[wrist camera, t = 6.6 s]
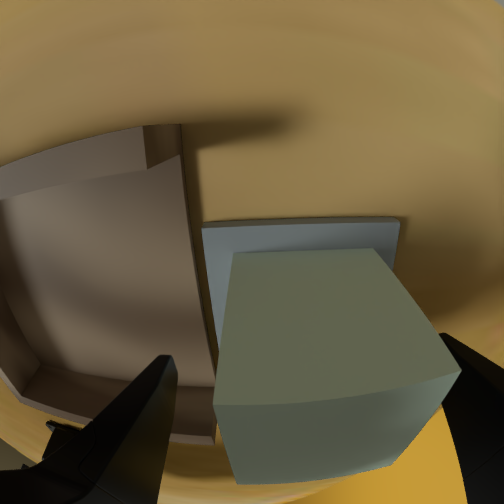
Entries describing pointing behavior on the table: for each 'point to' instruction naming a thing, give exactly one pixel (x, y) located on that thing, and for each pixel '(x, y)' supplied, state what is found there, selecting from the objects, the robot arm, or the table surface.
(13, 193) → the walnut crate
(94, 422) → the robot arm
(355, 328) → the sage block
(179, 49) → the table surface
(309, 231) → the slate tile
